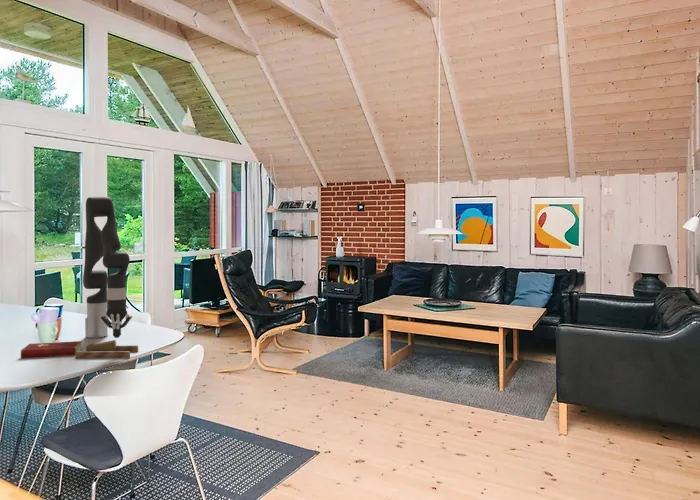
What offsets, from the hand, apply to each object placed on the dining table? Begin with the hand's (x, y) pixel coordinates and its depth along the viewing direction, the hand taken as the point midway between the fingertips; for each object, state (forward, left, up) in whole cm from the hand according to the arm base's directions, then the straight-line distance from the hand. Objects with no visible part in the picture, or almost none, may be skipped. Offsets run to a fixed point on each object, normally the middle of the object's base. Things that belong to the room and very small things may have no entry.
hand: (117, 337), depth 220 cm
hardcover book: (-28, +3, -8) cm, 30 cm away
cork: (-1, +1, -4) cm, 5 cm away
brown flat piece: (-4, 0, -8) cm, 8 cm away
